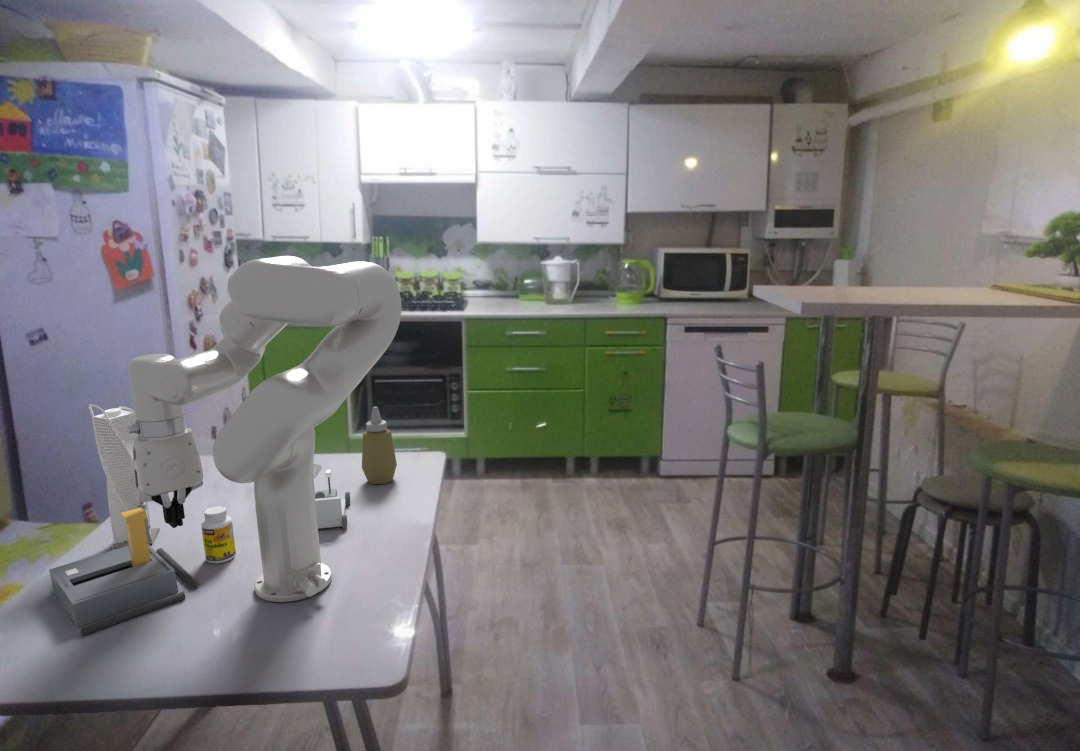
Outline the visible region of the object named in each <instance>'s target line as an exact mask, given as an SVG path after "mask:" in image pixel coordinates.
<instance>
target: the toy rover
mask: <svg viewBox="0 0 1080 751" xmlns="http://www.w3.org/2000/svg"><path fill="white" fill-rule="evenodd" d="M322 469H323V468H322V465H321V464H317V463H313V478H314V479H316V478H317V477H318V475H319V474H320V472H321V470H322ZM324 473H325V478H327V484H328V489H322V490H314V491H315V503H316V514H317V525H318V529H326V528H327V529H328V528H336V527H341V528H342V530H343V529H346V530H348V516H347V514H345V513H346V505H347V506H351V495H350V494H351V493H350V491H346V492H344V496H337V495H338V488H334V489H333V488H331V477H332V469H326V470H325V472H324Z"/></svg>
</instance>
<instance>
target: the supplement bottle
mask: <svg viewBox="0 0 1080 751" xmlns="http://www.w3.org/2000/svg"><path fill="white" fill-rule="evenodd" d="M227 512H228V511H227V508H226V507H225V506H220V505H219V506H218V505H217V506H212V507H209V508H207V509H205V511H204V513H203V514H204V519H203V520H202V522H201V523H200V524H201V534H202V542H203V550H204V557H205V560H206V562H208V563H210V564H222V563H223V564H224V563H226V562H229V561H230V560H232V559H233V558H235V556H236V554H237V553H236V551H237V550H236V545H235V544H236V543H235V535H234V527H233V526H234V524H233V518H232V517H231V516H230V515H228V513H227Z"/></svg>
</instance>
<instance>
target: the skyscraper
mask: <svg viewBox="0 0 1080 751" xmlns="http://www.w3.org/2000/svg"><path fill="white" fill-rule="evenodd" d="M92 407H94V408H96V409H98V410H100V411H101V413H102V414H101V413H100V414H98V415H94V411H93V409H92ZM87 408H88V410H89V412H90V416H91V422H92V425H93V426H92V427H93V428H92V429H93V433H94V439H95V445H96V449H97V452H98V453H97V454H98V456H99V460H100V463H101V468H102V469H103V472H104V475H105V477H106V494H107V503H108V512H109V519H110V527H111V532H112V538H113V545H112V547H111V551H112V550H113V549H114V550H115V549H119V548H122V547H125V546H129V543H128V536H127V530H126V524H125V522H124V521H123V520H122V519H121V513H122V512H126V511H130V510H133V509H137V508H142V509H143V510H144V511H146V514H147V519H144V522H145V528H146V535H147V541H148V545H149V546H152V545H151V544H154V543H155V540H156V538H157V537H158V534H159V532H160V531H161V528H160V527H155V528H152V527H151V520H150V511H149V507H148V506H149V505H148V502H140V501H139V500H137V490H138V489H137V487H136V484H135V479H134V467H133V446H134V438H135V437H136V436H138V435H137V434H136V433H135V434H134V433H131V434H129V433H128V430H127V426H131V425H132V424H134V422H135V420H134V419H136V418H135V412H134V408H131V407H129V406H124V405H120V406H118V407H116V408H114V407H113V408H109V409H105V410H104V409H103V408H102V407H101V406H99V405H97V404H95V403H89V404H88V406H87ZM153 542H154V543H153Z"/></svg>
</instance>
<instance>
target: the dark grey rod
mask: <svg viewBox="0 0 1080 751" xmlns="http://www.w3.org/2000/svg"><path fill="white" fill-rule="evenodd" d="M155 551H156V552H157V553H158V554H159V555H160V556H161V557H162V558H163V559H164V560H165V561H166V562H167V563H168V564H169V565H170V566H171V567H172V568H173V569H174V570H175V573H176V575H178V576H180V578H182V580H184V582H185V583H186V584H188V585H189V586H190V587H191V588H192V589H197V588H198V587H199V582H198V581H197V580H196V579H195V578H194V577H193V576H192V575H191V574H190V573H189V572H187V571H186V569H184V568H183V567H182V565H180V564H179V563H178V562H177V561H176V560H175V559H174V558H173V557H172V556H170V555H169V554H168V552H166V551H165V549H163V548H162V547H159V548H157V549H156V550H155Z"/></svg>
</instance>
